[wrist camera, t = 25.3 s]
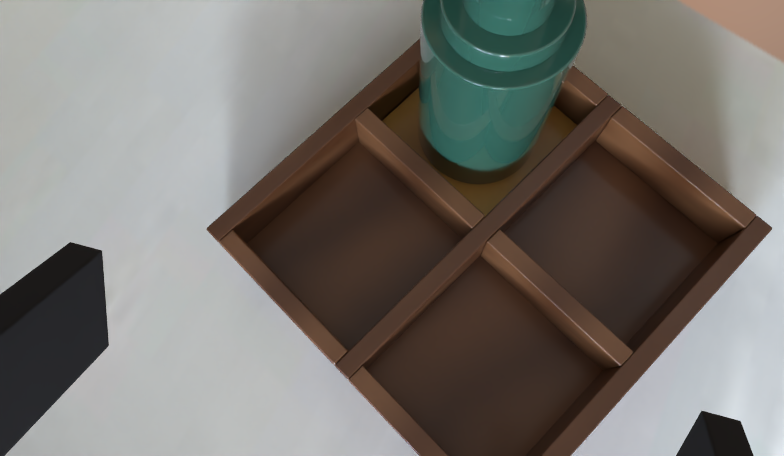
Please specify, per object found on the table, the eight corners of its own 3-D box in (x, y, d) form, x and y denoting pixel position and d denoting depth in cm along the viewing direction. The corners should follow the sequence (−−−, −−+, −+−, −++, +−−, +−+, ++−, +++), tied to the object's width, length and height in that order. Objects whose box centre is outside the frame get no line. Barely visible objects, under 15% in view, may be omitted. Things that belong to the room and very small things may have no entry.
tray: (225, 247, 30) (205, 228, 27) (471, 26, 33) (477, -13, 30) (487, 524, 26) (497, 538, 23) (736, 247, 29) (773, 228, 26)
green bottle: (393, 129, 30) (383, -47, 19) (474, 55, 31) (513, -155, 20) (478, 208, 29) (524, 73, 17) (561, 129, 30) (655, -48, 18)
